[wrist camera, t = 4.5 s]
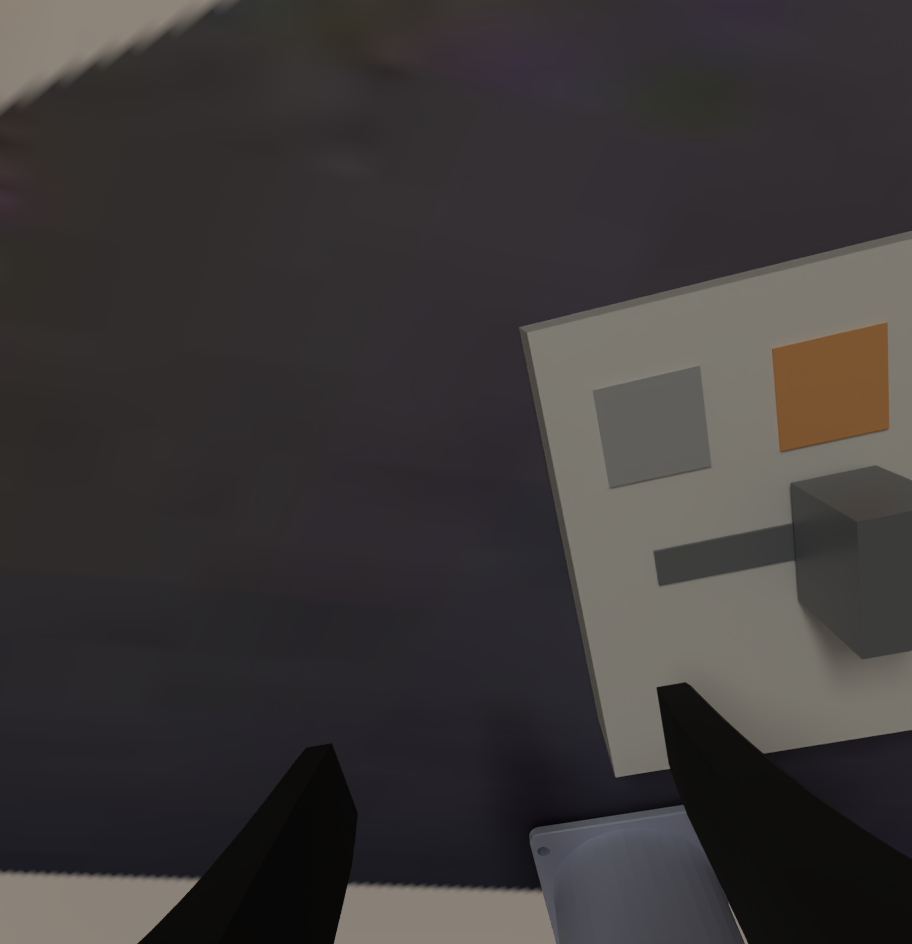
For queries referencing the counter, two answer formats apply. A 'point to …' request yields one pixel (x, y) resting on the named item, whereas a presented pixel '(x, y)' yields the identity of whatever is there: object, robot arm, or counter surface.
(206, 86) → the counter surface
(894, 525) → the handle
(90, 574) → the counter surface
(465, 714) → the counter surface
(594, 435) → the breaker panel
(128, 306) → the counter surface
